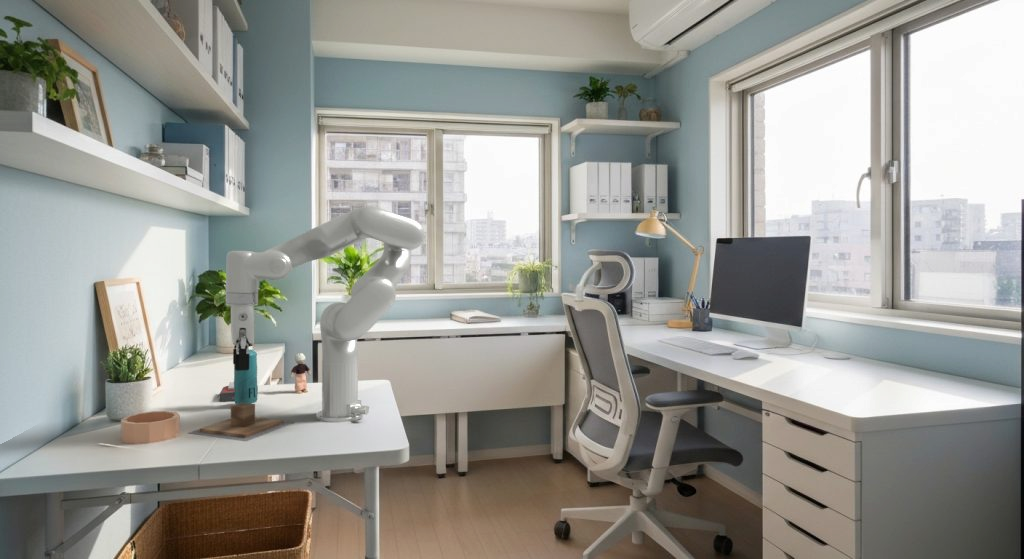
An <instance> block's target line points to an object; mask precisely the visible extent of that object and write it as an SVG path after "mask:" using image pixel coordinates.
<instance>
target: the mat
mask: <svg viewBox="0 0 1024 559" xmlns="http://www.w3.org/2000/svg"><path fill="white" fill-rule="evenodd" d="M295 423H296V422H295V421H288V420H287V421H286V420H284V424H281V425H279V426H276V427H273V428H271V429H268V430H265V431H263V432H260V433H257V434H255V435H252V436H249V437H247V438H242V437H235V436H227V435H219V434H212V433H204V432H200V429H201V428H199V429H196V430H192V431H190V432H187V434H189V435H197V436H204V437H209V438H219V439H226V440H233V441H242V442H248V441H251V440H253V439H254V440H255V439H256V438H260V437H261V436H263V435H266V434H269V433H272V432H274V431H278V430H279V429H282V428H286V427H287V426H290V425H292V424H295Z"/></svg>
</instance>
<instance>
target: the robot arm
mask: <svg viewBox="0 0 1024 559" xmlns="http://www.w3.org/2000/svg"><path fill="white" fill-rule="evenodd" d="M368 238H370V239H374V240H375V241H379V242H382V243H383V252H382V254H381V256H380V257H379V259H378V260H377V261H376V262H375V263H374V264H373V265H372V266H371V267H370V268H369V269H368V270H367V271H366V272H365V273H364V274H363V275H362V276H360V277H359V278H358V279H357V280H356V281H355V282H354V283H353V285H352V287H351V290H350V296H351V297H350V299H348V301H346V302H342V301H341V302H339V301H338V302H333V303H330V304H329V305H327V306H326V307H325V308H324V310H323V311H322V313H321V315H320V319H319V327H320V330H319V331H320V339H321V357H322V361H321V371H322V372H321V410H320V411H318V412H317V413H316V414H315V418H316V420H318V421H320V422H325V423H345V422H346V423H347V422H351V421H358V420H360V419H362V418H363V417H364V416H365V415H368V414H369V410H370V406H368V405H362V400H361V399H359V395H358V394H359V347H358V345H359V344H358V340H359V339H361V338H362V337H363V336H364V335H366V334H367V332H369V331H370V330H371V329H372V328H373V326H375V325H376V323H378V321H380V319H382V317H384V315H386V313H387V312H388V311H389V310H390V309H391V308H392V306H393V304H394V303H395V300H396V297H397V296H396V295H397V291H396V286H397V285H398V284H399V282H400V281H401V280H402V279H403V278H404V277H405V276H406V274H407V272H408V271H409V269H410V267H411V263H412V262H411V260H412V251H414V250H415V249H417V248H419V247H420V246H421V245H422V243H423V242H424V239H425V230H424V228H423V226H422V225H421V224H420V223H419V222H418V221H416V220H415V219H413V218H410V217H407V216H403V215H401V214H397V213H395V212H391V211H389V210H386V209H384V208H381V207H377V206H372V205H371V206H370V205H367V206H361V207H357V208H353V209H351V210H350V211H347V212H345V213H343V214H341V215H338V216H337V217H335V218H333V219H331V220H329V221H326V222H324V223H322V224H320V225H317V226H316V227H314V228H310V229H309V230H307V231H305V232H303V233H301V234H299V235H297V236H295V237H293V238H291V239H288V240H286V241H283V242H281V243H279V244H277V245H276V246H273V247H272V248H271V247H270V248H269V249H266V250H265V251H263V252H262V251H261V252H256V251H250V250H231V251H228V253H227V254H226V258H225V261H226V262H225V263H226V264H225V268H226V269H225V306H226V307H230V333H231V341H232V344H233V345H234V346H233V347H234V348H233V351H232V352H233V353H232V359H233V360H232V364H233V365H234V364H235V370H236V371H241V370H249V350H250V349H249V347H250V346H249V347H248V344H249V343H250V344H251V345H253V346H254V344H255V311H254V308H255V307H257V306H259V279H261V280H262V279H263V280H270V281H281V280H284V279H286V278H287V277H288V276H289V275H290V274H291V273H292V269H295V268H297V267H299V266H301V265H304V264H306V263H309V262H312V261H317V260H320V259H321V260H322V259H326V258H328V257H332V256H333V255H336V254H337V253H339V252H340V251H342V250H345V249H346V248H349V247H351V246H353V245H355V244H356V243H360V242H361V241H363V240H366V239H368ZM248 342H249V343H248Z"/></svg>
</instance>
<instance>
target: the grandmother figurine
mask: <svg viewBox="0 0 1024 559" xmlns="http://www.w3.org/2000/svg"><path fill="white" fill-rule="evenodd" d="M294 360H295V363H296V365H295V366H292V369H291V370H290V373H289V374H290V375H289V378H291V379H292V378H293V377H295V382H294V391H293V393H294V394H302V393H308V390H307V389H308V385H307V378H306V377H307V376H306V373H307V374H308V376H311V375H312V372H311V370H310V368H309V366H308V365H307V364H306V363H305V361H306V356H305V354H304V353H303V352H301V353H300V352H299V353H297V354H296V355H295V356H294ZM294 375H295V376H294Z"/></svg>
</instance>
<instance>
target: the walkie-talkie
mask: <svg viewBox="0 0 1024 559" xmlns="http://www.w3.org/2000/svg"><path fill="white" fill-rule="evenodd" d="M218 397H219V401H218V402H220V403H227V402H231V403H233V402H234V381H232V382H229V384H228V385H226V386H223V387H222V388H221V391H220V392H219V396H218Z"/></svg>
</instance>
